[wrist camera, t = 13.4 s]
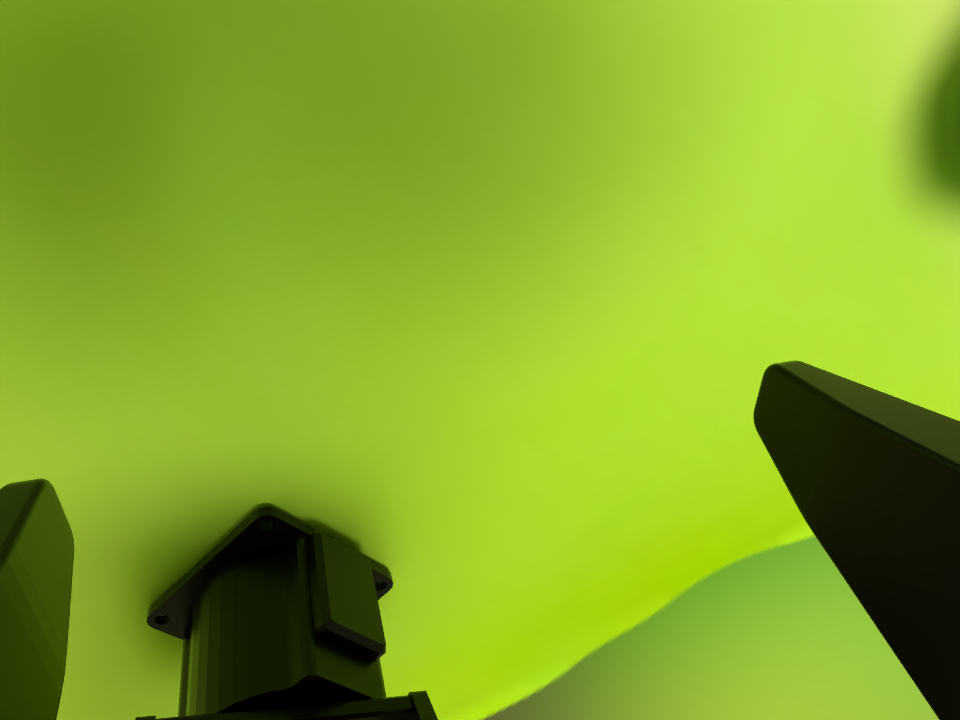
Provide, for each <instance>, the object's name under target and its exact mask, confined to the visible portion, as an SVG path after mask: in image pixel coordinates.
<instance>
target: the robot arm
mask: <svg viewBox="0 0 960 720" xmlns="http://www.w3.org/2000/svg"><path fill="white" fill-rule="evenodd" d="M754 424H755V427H756V430H757V432H758V434H759V436H760V438H761V440H762V441H763V443H764V445H765V447H766V449H767V451H768V453H769V455H770V456H771V458H772V460H773V462H774V464H775V466H776V468H777V470H778V471H779V473H780V475H781V477H782V479H783V481H784V483H785V485H786V486H787V488H788V490H789V492H790V494H791V496H792V498H793V500H794V501H795V503H796V505H797V507H798V509H799V510H800V512H801V514H802V516H803V517H804V519H805V521H806V522H807V524H808V525H809V527H810V529H811V530H812V532H813V533H814V535H815V536H816V538H817V539H818V541H819V542H820V544H821V545H822V547H823V548H824V549H825V551H826V552H827V554H828V556H829V557H830V558H831V560H832V561H833V563H834V564H835V566H836V567H837V569H838V570H839V572H840V573H841V575H842V576H843V578H844V579H845V581H846V582H847V584H848V585H849V587H850V588H851V589H852V591H853V593H854V594H855V595H856V597H857V598H858V600H859V601H860V603H861V604H862V606H863V607H864V609H865V610H866V612H867V613H868V615H869V616H870V618H871V619H872V621H873V622H874V624H875V625H876V627H877V628H878V630H879V631H880V633H881V634H882V636H883V637H884V638H885V640H886V641H887V643H888V644H889V646H890V647H891V648H892V650H893V652H894V653H895V655H896V656H897V658H898V659H899V661H900V662H901V664H902V665H903V666H904V668H905V669H906V671H907V673H908V674H909V675H910V677H911V678H912V680H913V681H914V683H915V684H916V686H917V687H918V689H919V690H920V692H921V693H922V695H923V696H924V698H925V699H926V701H927V702H928V704H929V705H930V706H931V708H932V710H933V711H934V713H935V714H936V715H937V717H938V718H939V720H960V421H957V420H955V419H952V418H949V417H947V416H944V415H941V414H939V413H936V412H933V411H931V410H928V409H925V408H923V407H920V406H918V405H915V404H912V403H910V402H907V401H904V400H902V399H899V398H896V397H894V396H891V395H888V394H886V393H883V392H880V391H878V390H875V389H873V388H870V387H867V386H865V385H862V384H859V383H857V382H854V381H851V380H849V379H846V378H843V377H841V376H838V375H835V374H833V373H830V372H827V371H825V370H822V369H820V368H817V367H814V366H812V365H809V364H806V363H804V362H801V361H788V362H782V363H775V364H772V365H770V366H768V367H767V369H766V370H765V372H764V374H763V378H762V382H761V385H760V389H759V393H758V397H757V401H756V405H755V409H754ZM267 520H269V521H271V522H269V523H262V522H263V521H267ZM73 560H74V540H73V534H72V530H71V528H70V525H69V523H68V520H67V518H66V516H65V513H64V511H63V508H62V506H61V503H60V501H59V499H58V496H57V494H56V491H55V489H54V487H53V485H52V484H51V483H50V482H49V481H48V480H45V479H35V480H28V481H22V482H15V483H10V484H7V485H5V486H4V487H2V488H1V489H0V720H56V718H57V713H58V708H59V703H60V698H61V693H62V687H63V681H64V675H65V665H66V655H67V642H68V628H69V615H70V601H71V587H72V573H73ZM379 581H381V582H379ZM392 586H393V581H392V576H391V573H390V572H389V571H388V570H387V569H385V568H383V567H381V566H379V565H377V564H376V563H374V562H372V561H370V559H369V558H368V557H366V556H364V555H362V554H361V553H359V552H357V551H355V550H353V549H351V548H350V547H348V546H346V545H344V544H342V543H341V542H339V541H337V540H335V539H333V538H332V537H330V536H328V535H326V534H324V533H322V532H317V531H316V530H314V529H312V528H310V527H308V526H307V525H305V524H303V523H301V522H299V521H297V520H296V519H294V518H292V517H290V516H288V515H287V514H285V513H283V512H281V511H279V510H277V509H275V508H272V507H264V508H260V509H258V510H257V511H255V512H254V513H253V514H252V515H251V516H249V517H248V518H247V519H246V520H245V521H244V522H243V523H242V524H241V525H239V526H238V527H237V528H236V529H235V530H234V531H233V532H232V533H231V534H230V535H228V536H227V537H226V538H225V539H224V540H223V541H222V542H221V543H220V544H219V545H217V546H216V547H215V548H214V549H213V550H212V551H211V552H210V553H209V554H208V555H206V556H205V557H204V558H203V559H202V560H201V561H200V562H199V563H198V564H196V565H195V566H194V567H193V568H192V569H191V570H190V571H189V572H188V573H187V574H185V575H184V576H183V577H182V578H181V579H180V580H179V581H178V582H177V583H176V584H174V585H173V586H172V587H171V588H170V589H169V590H168V591H167V592H166V593H164V594H163V595H162V596H161V597H160V598H159V599H158V600H157V601H156V602H155V603H153V604H152V605H151V606H150V608H149V609H148V617H147V623H148V625H149V626H151V627H152V628H154V629H157V630H160V631H162V632H165V633H167V634H170V635H172V636H175V637H177V638H180V639H183V640H184V641H183V655H182V669H181V683H180V697H179V711H178V717H171V718H160V719H156V716H146V717H136V719H135V720H438V719H437V716H436V714H435V711H434V709H433V707H432V704H431V702H430V699H429V697H428V695H427V692H426V691H418V692H409V694H408V695H407V696H396V697H386V693H385V687H384V682H383V676H382V670H381V664H380V659H379V658H380V657H381V656H382V655H383V654H385V653H386V642H385V637H384V632H383V626H382V621H381V616H380V610H379V605H378V600H379V599H380V598H381V597H382V596H383V595H385V594H386V593H387V592H388V591H389V590H390V589H391V588H392ZM161 615H163V616H161Z"/></svg>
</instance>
